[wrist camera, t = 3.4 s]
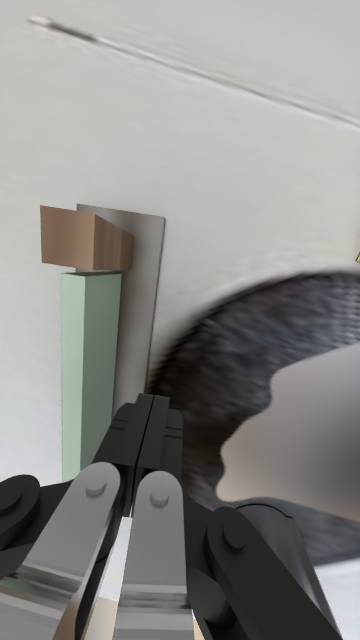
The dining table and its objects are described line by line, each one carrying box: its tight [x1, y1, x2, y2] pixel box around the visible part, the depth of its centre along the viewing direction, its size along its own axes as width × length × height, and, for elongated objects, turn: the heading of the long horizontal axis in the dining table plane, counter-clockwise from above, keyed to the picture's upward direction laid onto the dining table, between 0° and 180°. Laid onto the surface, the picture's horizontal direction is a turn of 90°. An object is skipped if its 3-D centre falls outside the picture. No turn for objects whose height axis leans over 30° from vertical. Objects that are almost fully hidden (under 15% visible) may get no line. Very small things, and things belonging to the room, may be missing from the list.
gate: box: [61, 271, 122, 483], centre depth 18 cm, size 19×2×7 cm, turn 172°
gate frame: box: [40, 204, 165, 422], centre depth 18 cm, size 8×29×9 cm, turn 172°
